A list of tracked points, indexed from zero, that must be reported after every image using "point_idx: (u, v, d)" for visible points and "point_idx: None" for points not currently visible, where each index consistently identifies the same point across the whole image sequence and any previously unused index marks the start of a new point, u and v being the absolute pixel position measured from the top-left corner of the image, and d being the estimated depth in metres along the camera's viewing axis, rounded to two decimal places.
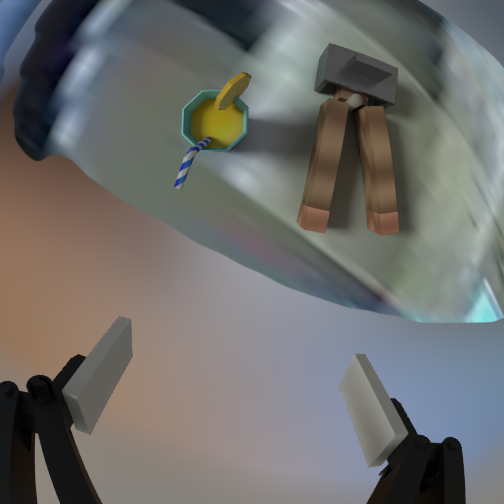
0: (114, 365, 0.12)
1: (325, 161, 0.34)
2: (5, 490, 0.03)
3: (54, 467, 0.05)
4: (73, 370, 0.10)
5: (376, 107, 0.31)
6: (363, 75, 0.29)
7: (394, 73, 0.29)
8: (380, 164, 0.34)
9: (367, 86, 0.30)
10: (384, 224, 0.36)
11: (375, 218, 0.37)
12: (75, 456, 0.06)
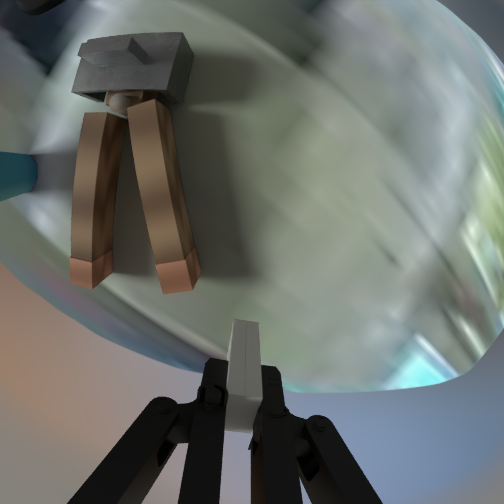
0: None
1: (80, 199, 0.24)
2: (111, 499, 0.05)
3: (192, 468, 0.07)
4: (214, 373, 0.12)
5: (143, 104, 0.21)
6: (120, 65, 0.19)
7: (173, 42, 0.18)
8: (148, 190, 0.23)
9: (123, 78, 0.19)
10: (165, 279, 0.25)
11: None
12: (221, 465, 0.07)
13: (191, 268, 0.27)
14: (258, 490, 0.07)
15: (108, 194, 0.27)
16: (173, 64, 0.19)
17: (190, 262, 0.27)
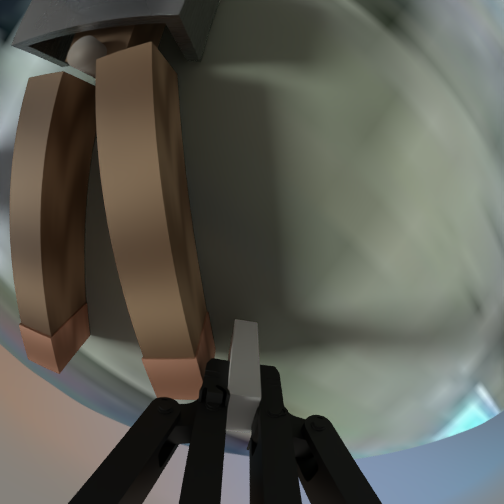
0: None
1: (20, 232, 0.11)
2: (112, 499, 0.05)
3: (193, 468, 0.07)
4: (216, 373, 0.13)
5: (128, 51, 0.09)
6: None
7: None
8: (124, 227, 0.11)
9: (96, 6, 0.07)
10: (160, 380, 0.13)
11: None
12: (222, 465, 0.07)
13: (204, 361, 0.15)
14: (257, 490, 0.07)
15: (70, 219, 0.14)
16: None
17: (203, 352, 0.15)
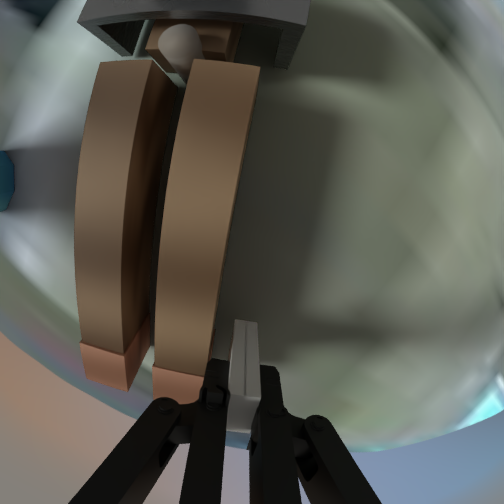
0: None
1: (90, 240, 0.12)
2: (112, 499, 0.05)
3: (194, 468, 0.07)
4: (216, 373, 0.13)
5: (232, 66, 0.10)
6: None
7: None
8: (178, 248, 0.12)
9: None
10: (163, 387, 0.14)
11: None
12: (222, 465, 0.07)
13: None
14: (257, 490, 0.07)
15: (144, 225, 0.15)
16: None
17: None
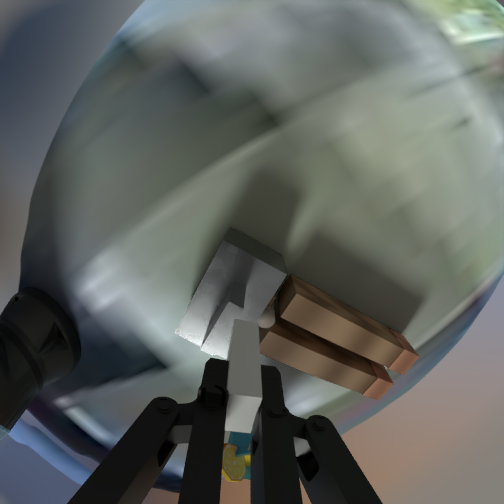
0: None
1: (328, 373, 0.28)
2: (111, 499, 0.05)
3: (192, 468, 0.07)
4: (215, 373, 0.13)
5: (291, 303, 0.25)
6: None
7: (232, 252, 0.23)
8: (351, 342, 0.26)
9: (250, 310, 0.24)
10: (399, 368, 0.27)
11: None
12: (221, 465, 0.07)
13: (406, 345, 0.28)
14: (258, 490, 0.07)
15: (330, 345, 0.30)
16: (260, 259, 0.23)
17: (403, 343, 0.28)
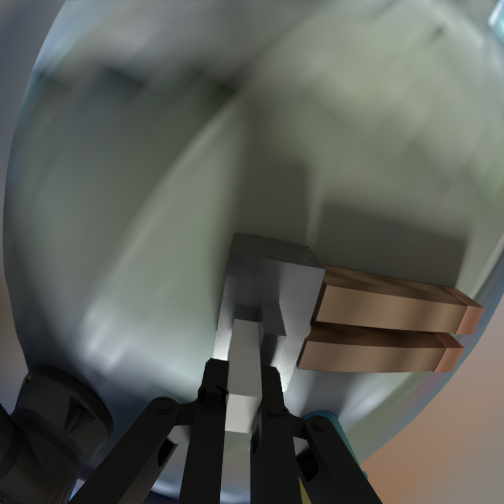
0: None
1: (391, 363, 0.21)
2: (111, 499, 0.05)
3: (193, 468, 0.07)
4: (215, 373, 0.12)
5: (324, 300, 0.19)
6: None
7: (247, 264, 0.17)
8: (408, 320, 0.20)
9: (292, 328, 0.18)
10: (466, 328, 0.20)
11: None
12: (221, 465, 0.07)
13: (467, 300, 0.21)
14: (258, 490, 0.07)
15: (382, 330, 0.24)
16: (286, 261, 0.17)
17: (463, 299, 0.21)
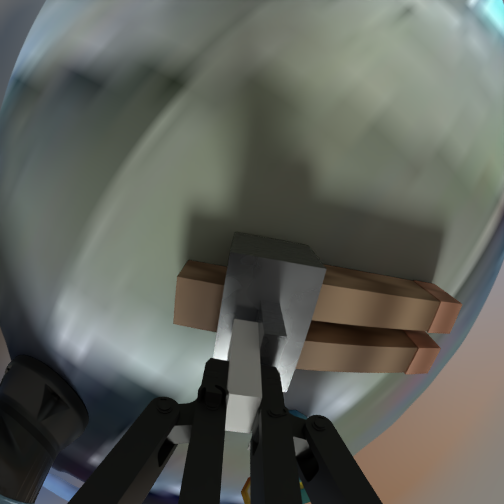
0: None
1: (352, 362, 0.21)
2: (111, 499, 0.05)
3: (192, 468, 0.07)
4: (215, 373, 0.13)
5: None
6: None
7: (247, 263, 0.17)
8: (367, 316, 0.19)
9: (293, 328, 0.18)
10: (442, 326, 0.20)
11: None
12: (221, 465, 0.07)
13: (442, 296, 0.20)
14: (258, 490, 0.07)
15: (345, 326, 0.23)
16: (286, 261, 0.17)
17: (437, 294, 0.21)
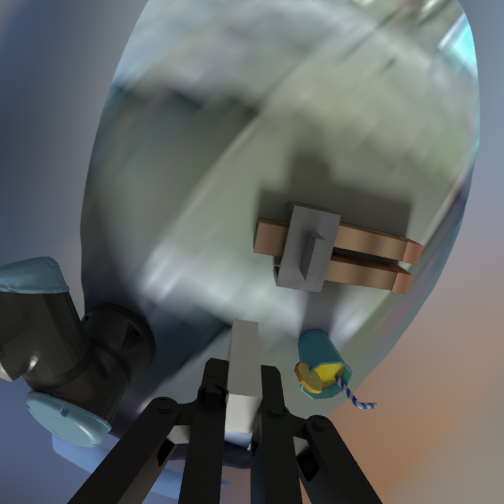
0: None
1: (357, 278, 0.37)
2: (111, 499, 0.05)
3: (192, 468, 0.07)
4: (215, 373, 0.13)
5: None
6: None
7: (302, 211, 0.33)
8: (363, 246, 0.35)
9: (324, 248, 0.34)
10: (411, 259, 0.36)
11: None
12: (221, 465, 0.07)
13: (410, 241, 0.37)
14: (258, 490, 0.07)
15: (351, 258, 0.39)
16: (321, 211, 0.33)
17: (406, 240, 0.37)
